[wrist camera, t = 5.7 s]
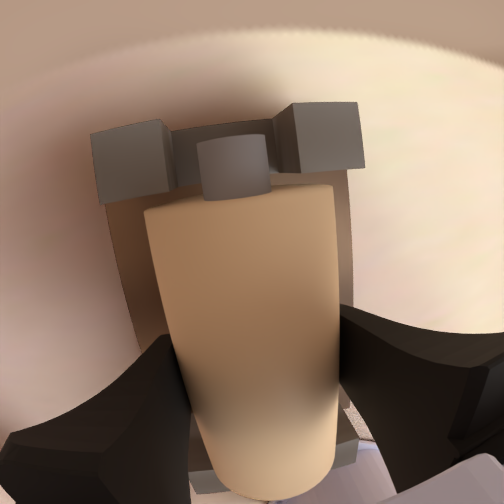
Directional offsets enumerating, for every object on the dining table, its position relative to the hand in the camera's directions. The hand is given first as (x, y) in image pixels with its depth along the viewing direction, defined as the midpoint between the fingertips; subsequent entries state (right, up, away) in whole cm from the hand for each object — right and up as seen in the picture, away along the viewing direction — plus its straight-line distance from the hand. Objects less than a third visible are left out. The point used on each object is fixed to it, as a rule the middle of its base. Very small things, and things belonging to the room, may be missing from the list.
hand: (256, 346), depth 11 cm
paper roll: (0, 0, -1) cm, 1 cm away
